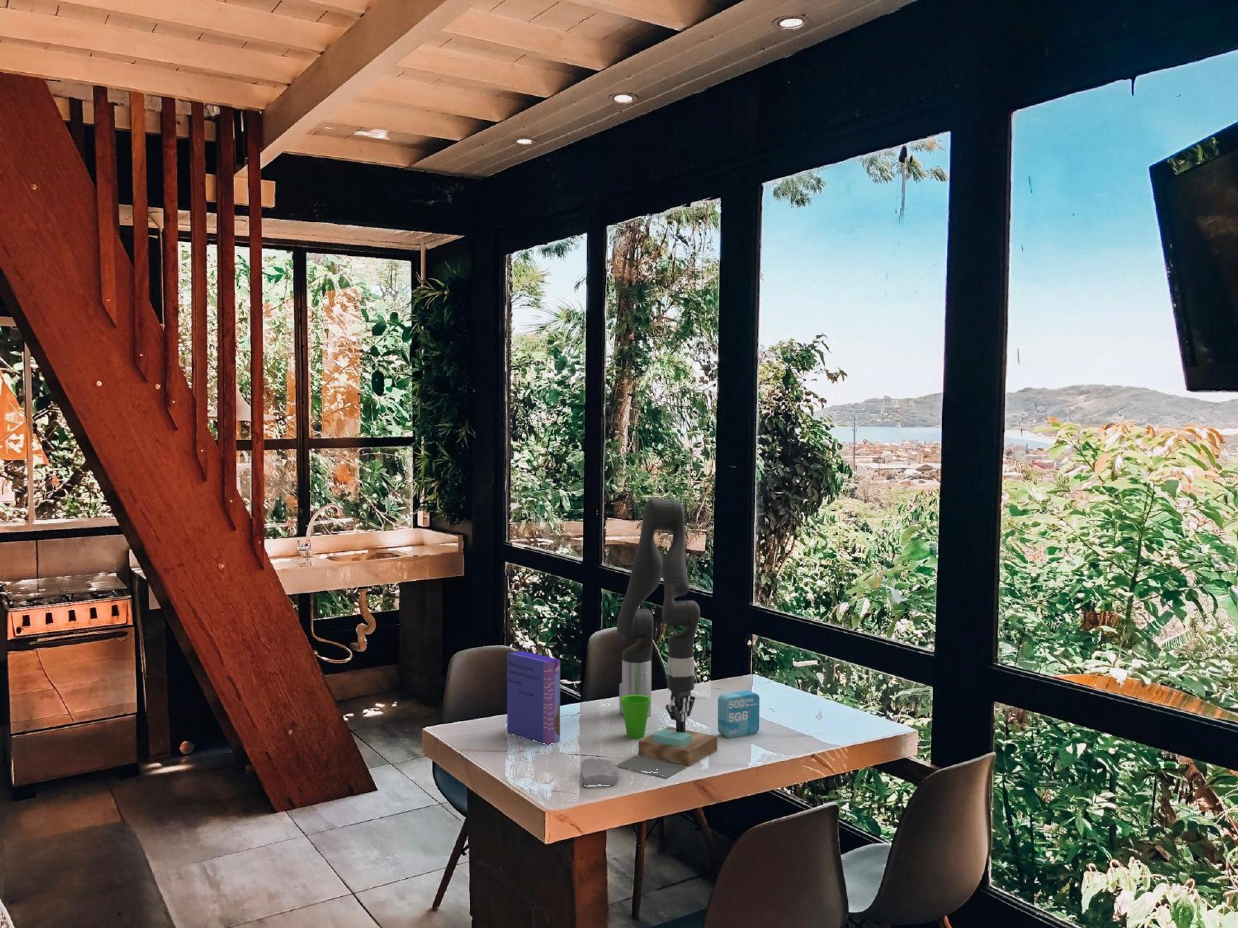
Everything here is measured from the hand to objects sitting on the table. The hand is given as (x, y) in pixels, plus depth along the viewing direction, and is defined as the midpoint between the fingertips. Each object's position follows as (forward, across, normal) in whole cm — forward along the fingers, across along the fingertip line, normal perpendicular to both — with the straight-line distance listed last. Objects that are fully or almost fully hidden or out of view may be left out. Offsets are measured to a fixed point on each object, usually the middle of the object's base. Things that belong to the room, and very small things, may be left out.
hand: (680, 733), depth 276 cm
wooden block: (+5, +1, 0) cm, 5 cm away
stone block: (+6, +30, -6) cm, 31 cm away
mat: (+5, +15, 0) cm, 16 cm away
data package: (+6, -24, +6) cm, 25 cm away
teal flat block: (+1, +4, 0) cm, 4 cm away
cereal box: (+5, +13, -42) cm, 45 cm away
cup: (+5, -5, -18) cm, 20 cm away
